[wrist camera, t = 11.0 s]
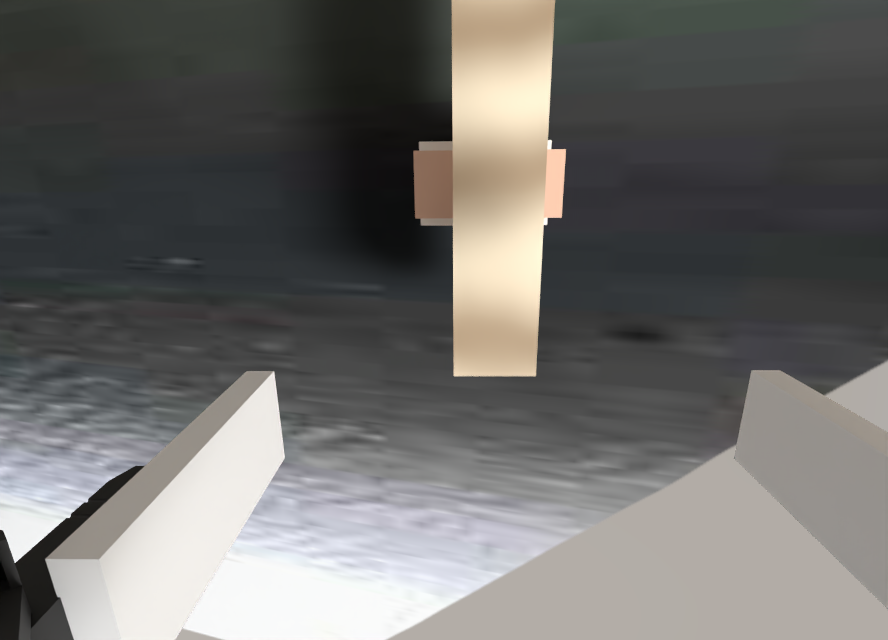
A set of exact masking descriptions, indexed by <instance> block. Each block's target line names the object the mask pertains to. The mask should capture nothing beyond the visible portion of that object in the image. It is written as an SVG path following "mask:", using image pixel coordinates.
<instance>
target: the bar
mask: <svg viewBox="0 0 888 640" xmlns="http://www.w3.org/2000/svg"><path fill="white" fill-rule="evenodd" d="M554 8H555V0H452V125H453V318H454V376H536V362H537V342H538V322H539V303H540V283H541V263H542V244H543V224H544V205H545V185H546V165H547V146H548V126H549V106H550V87H551V67H552V47H553V28H554Z"/></svg>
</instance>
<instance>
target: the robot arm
mask: <svg viewBox="0 0 888 640" xmlns="http://www.w3.org/2000/svg"><path fill="white" fill-rule="evenodd" d="M284 458H285V455H284V447H283V439H282V431H281V423H280V415H279V407H278V399H277V391H276V383H275V375H274V371H246V372H245V373H244V374H243V375H242V376H241V377H240V378H239V379H238V380H237V381H236V382H235V383H234V384H232V385H231V386H230V387H229V388H228V389H227V390H226V391H225V392H224V393H223V394H222V395H221V396H220V397H218V398H217V399H216V400H215V401H214V402H213V403H212V404H211V405H210V406H209V407H208V408H207V409H206V410H205V411H203V412H202V413H201V414H200V415H199V416H198V417H197V418H196V419H195V420H194V421H193V422H192V423H191V424H189V425H188V426H187V427H186V428H185V429H184V430H183V431H182V432H181V433H180V434H179V435H178V436H177V437H176V438H174V439H173V440H172V441H171V442H170V443H169V444H168V445H167V446H166V447H165V448H164V449H163V450H162V451H161V452H159V453H158V454H157V455H156V456H155V457H154V458H153V459H152V460H151V461H150V462H149V463H148V464H147V465H145V466H135V467H133V468H131V469H129V470H128V471H126V472H124V473H122V474H120V475H119V476H117V477H115V478H113V479H112V480H110V481H108V482H107V483H106V484H105V485H104V486H103V487H101V488H100V489H99V490H98V491H97V492H96V493H95V494H93V495H92V496H91V497H90V498H89V499H88V502H87V503H83V504H82V505H81V506H80V507H79V508H78V509H76V510H75V511H74V512H73V513H72V514H71V517H70V518H66V519H65V520H64V521H63V522H62V523H60V524H59V525H58V526H57V527H56V528H55V529H54V530H52V531H51V532H50V533H49V534H48V535H47V536H46V537H44V538H43V539H42V540H41V541H40V542H39V543H38V544H36V545H35V546H34V547H33V548H32V549H31V550H30V551H28V552H27V553H26V554H25V555H24V556H23V557H22V558H21V559H19V560H18V561H17V562H16V563H14V560H13V557H12V554H11V551H10V548H9V545H8V542H7V540H6V537H5V535H4V532H3V531H2V530H0V640H175V639H176V638H177V636H178V634H179V633H180V631H181V629H182V628H183V626H184V624H185V623H186V621H187V619H188V618H189V616H190V614H191V613H192V611H193V609H194V608H195V606H196V604H197V603H198V601H199V599H200V598H201V596H202V595H203V593H204V591H205V590H206V588H207V586H208V585H209V583H210V581H211V580H212V578H213V576H214V575H215V573H216V571H217V570H218V568H219V566H220V565H221V563H222V561H223V560H224V558H225V556H226V555H227V553H228V551H229V550H230V548H231V546H232V545H233V543H234V541H235V540H236V538H237V536H238V535H239V533H240V531H241V530H242V528H243V526H244V525H245V523H246V521H247V520H248V518H249V516H250V515H251V513H252V511H253V510H254V508H255V506H256V505H257V503H258V501H259V500H260V498H261V496H262V495H263V493H264V491H265V490H266V488H267V486H268V485H269V483H270V481H271V480H272V478H273V476H274V475H275V473H276V471H277V470H278V468H279V466H280V465H281V463H282V461H283V460H284ZM734 459H735V460H736V461H737V462H738V463H739V464H740V465H742V466H743V467H744V468H745V469H746V470H747V471H748V472H749V473H750V474H751V475H752V476H753V477H754V478H755V479H756V480H757V481H758V482H759V483H760V484H761V485H762V486H763V487H764V488H765V489H766V490H767V491H768V492H769V493H770V494H771V495H772V496H773V497H774V498H775V499H776V500H777V501H778V502H779V503H780V504H781V505H782V506H783V507H784V508H785V509H786V510H787V511H789V513H790V514H792V515H793V517H795V518H796V519H797V520H798V521H799V522H800V523H801V524H802V525H803V526H804V527H805V528H806V529H807V530H808V531H809V532H810V533H811V534H812V535H813V536H814V537H815V538H816V539H817V540H818V541H819V542H820V543H821V544H822V545H823V546H824V547H825V548H826V549H827V550H828V551H829V552H830V553H831V554H832V555H833V556H834V557H836V559H837V560H838V561H839V562H840V563H841V564H842V565H843V566H844V567H845V568H846V569H847V570H848V571H849V572H851V573H852V574H853V575H854V576H855V577H856V578H857V579H858V580H859V581H860V582H861V583H862V584H863V585H864V586H865V587H866V588H867V589H868V590H869V591H870V592H871V593H872V594H873V595H874V596H875V597H876V598H877V599H878V600H879V601H880V602H881V603H882V604H883V605H884V606H885V607H886V608H887V609H888V432H886V431H884V430H883V429H881V428H879V427H877V426H875V425H874V424H872V423H870V422H869V421H867V420H865V419H863V418H862V417H860V416H858V415H856V414H855V413H853V412H851V411H850V410H848V409H846V408H844V407H843V406H841V405H839V404H838V403H836V402H834V401H832V400H831V399H829V398H827V397H825V396H824V395H822V394H820V393H818V392H817V391H815V390H813V389H812V388H810V387H808V386H806V385H805V384H803V383H801V382H799V381H798V380H796V379H794V378H792V377H791V376H789V375H787V374H785V373H784V372H782V371H780V370H752V371H751V376H750V381H749V386H748V391H747V396H746V401H745V406H744V411H743V416H742V421H741V426H740V431H739V436H738V441H737V446H736V451H735V456H734Z"/></svg>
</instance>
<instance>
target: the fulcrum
mask: <svg viewBox="0 0 888 640" xmlns="http://www.w3.org/2000/svg"><path fill="white" fill-rule="evenodd" d="M551 143H552V140H548V146H547V165H546V185H545V205H544V224H543V225H547V218H562V202H563V187H564V171H565V156H566V149H551ZM413 153H414V192H415V218H421V226H422V225H453V141H440V142H419V151H413Z"/></svg>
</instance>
